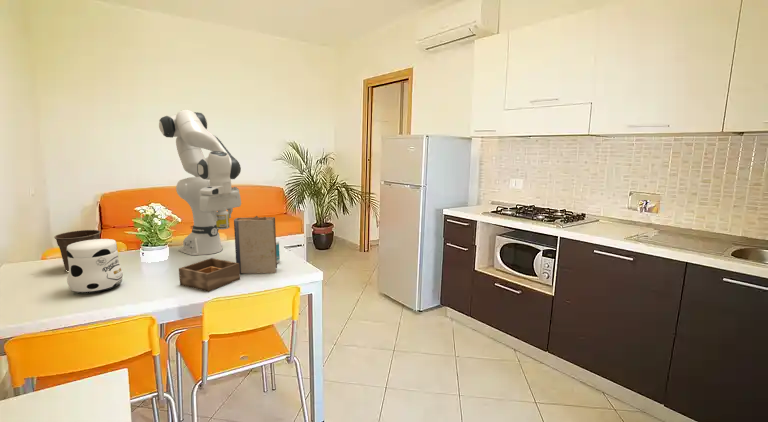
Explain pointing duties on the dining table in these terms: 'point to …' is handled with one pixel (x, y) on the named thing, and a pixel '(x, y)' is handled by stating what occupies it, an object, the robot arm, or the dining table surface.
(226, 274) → the walled box
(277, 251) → the pill bottle
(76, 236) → the plant pot
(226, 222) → the supplement bottle
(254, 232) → the book
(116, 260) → the milk container
